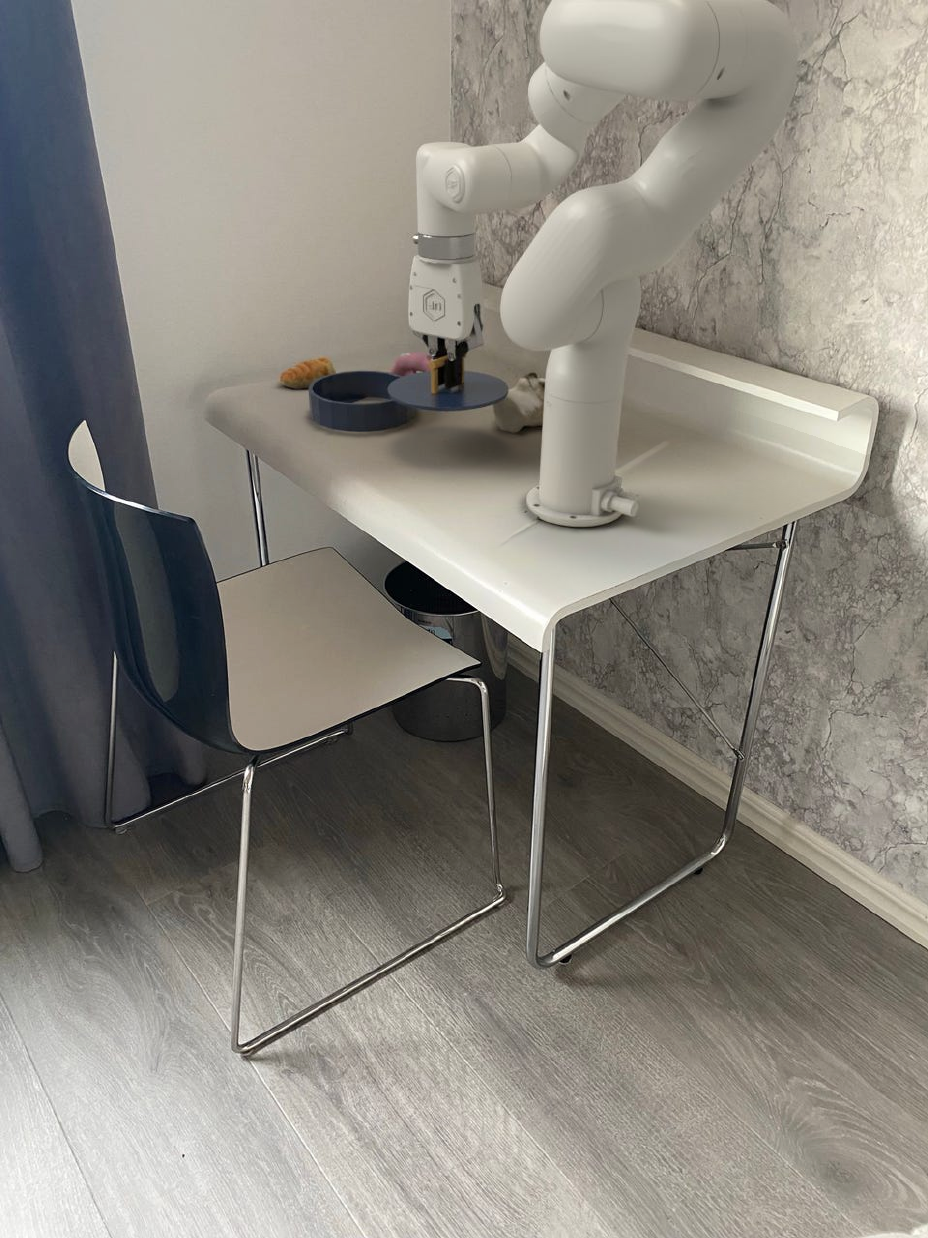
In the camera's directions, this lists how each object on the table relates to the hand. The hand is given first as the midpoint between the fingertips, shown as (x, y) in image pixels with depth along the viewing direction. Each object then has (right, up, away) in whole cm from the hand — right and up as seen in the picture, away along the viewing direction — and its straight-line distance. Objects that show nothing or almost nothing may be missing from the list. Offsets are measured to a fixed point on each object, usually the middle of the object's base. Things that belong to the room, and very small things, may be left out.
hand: (448, 383), depth 140 cm
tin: (-14, -1, +17) cm, 22 cm away
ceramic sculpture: (+13, -3, +15) cm, 20 cm away
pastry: (-24, +7, +31) cm, 40 cm away
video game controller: (-6, +6, +29) cm, 30 cm away
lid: (0, -1, +1) cm, 1 cm away
